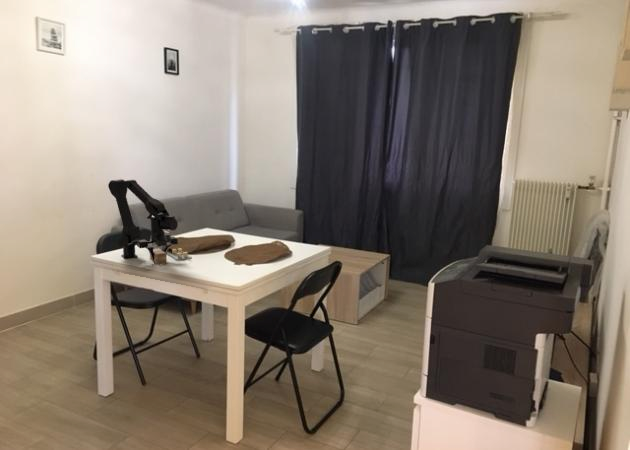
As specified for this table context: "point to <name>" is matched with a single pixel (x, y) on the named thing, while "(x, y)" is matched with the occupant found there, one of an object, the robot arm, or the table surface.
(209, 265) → the table surface
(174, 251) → the peg stand
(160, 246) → the digital clock
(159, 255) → the tan rectangular block
